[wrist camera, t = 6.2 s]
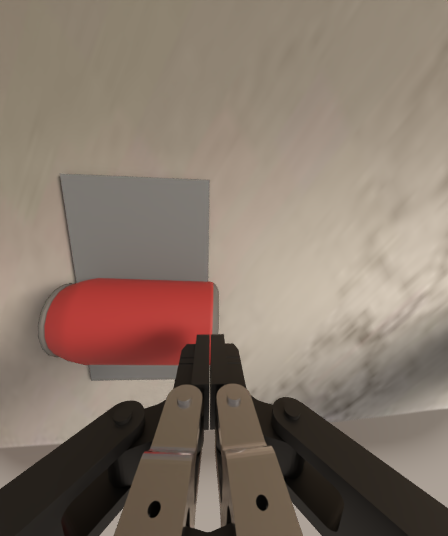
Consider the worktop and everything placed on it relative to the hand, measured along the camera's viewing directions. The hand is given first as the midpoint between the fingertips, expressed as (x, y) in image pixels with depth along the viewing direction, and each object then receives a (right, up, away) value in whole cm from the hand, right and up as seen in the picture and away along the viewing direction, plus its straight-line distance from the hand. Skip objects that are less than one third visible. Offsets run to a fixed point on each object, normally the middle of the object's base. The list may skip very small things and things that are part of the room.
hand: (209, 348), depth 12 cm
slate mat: (-7, +2, +9) cm, 11 cm away
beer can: (0, 0, +6) cm, 6 cm away
